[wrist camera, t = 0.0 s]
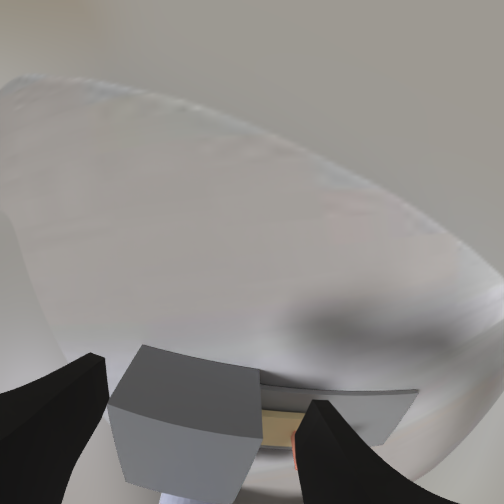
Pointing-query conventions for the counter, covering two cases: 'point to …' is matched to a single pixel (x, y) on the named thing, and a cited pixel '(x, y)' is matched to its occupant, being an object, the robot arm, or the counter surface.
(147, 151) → the counter surface
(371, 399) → the dispenser
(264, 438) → the beige wooden board
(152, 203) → the counter surface
